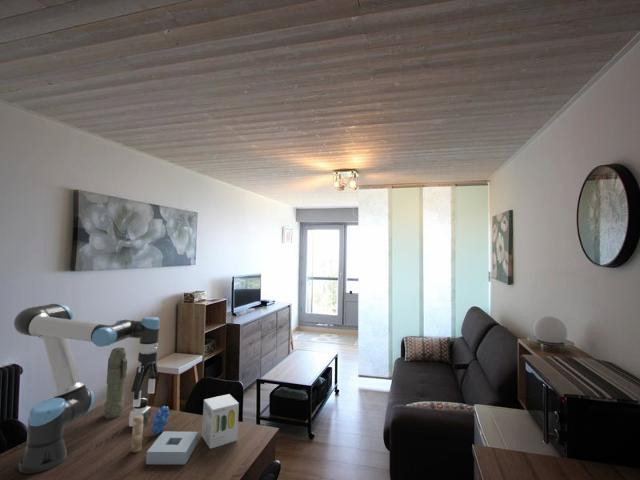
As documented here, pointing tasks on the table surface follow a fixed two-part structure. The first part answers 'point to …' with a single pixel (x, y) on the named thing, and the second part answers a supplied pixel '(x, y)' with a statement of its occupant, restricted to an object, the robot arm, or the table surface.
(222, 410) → the supplement box
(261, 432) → the table surface
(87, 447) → the table surface
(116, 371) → the thermos
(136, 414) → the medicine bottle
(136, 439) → the peg
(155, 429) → the grapes
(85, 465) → the table surface
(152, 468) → the table surface
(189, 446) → the socket block
